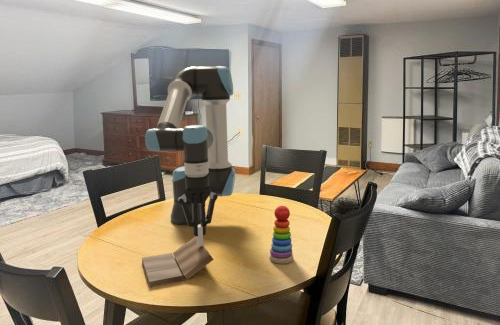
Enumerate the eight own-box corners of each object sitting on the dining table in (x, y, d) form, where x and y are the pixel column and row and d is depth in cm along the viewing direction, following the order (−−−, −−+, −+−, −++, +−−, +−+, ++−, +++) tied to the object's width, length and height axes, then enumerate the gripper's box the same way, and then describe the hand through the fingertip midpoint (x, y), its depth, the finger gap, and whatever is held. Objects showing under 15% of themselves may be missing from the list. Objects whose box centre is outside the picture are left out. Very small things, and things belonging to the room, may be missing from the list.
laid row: (142, 262, 141) (141, 257, 141) (171, 257, 145) (171, 252, 144) (149, 287, 125) (149, 281, 124) (183, 280, 128) (182, 275, 128)
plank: (175, 256, 145) (172, 252, 144) (199, 239, 147) (196, 235, 146) (187, 279, 129) (183, 275, 128) (213, 259, 130) (210, 255, 130)
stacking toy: (292, 265, 137) (292, 210, 133) (268, 264, 138) (267, 209, 135) (294, 255, 145) (294, 203, 141) (271, 254, 146) (270, 202, 142)
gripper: (178, 179, 127) (182, 252, 132) (220, 175, 132) (222, 245, 136) (174, 174, 134) (178, 243, 139) (213, 170, 139) (216, 237, 143)
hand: (200, 244), depth 138 cm, fingers closed
